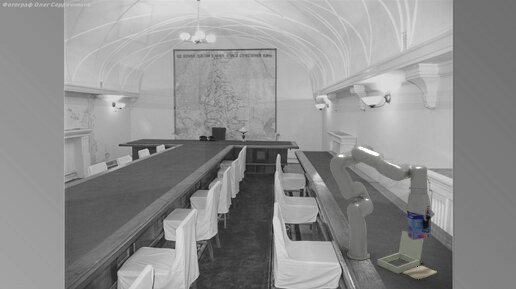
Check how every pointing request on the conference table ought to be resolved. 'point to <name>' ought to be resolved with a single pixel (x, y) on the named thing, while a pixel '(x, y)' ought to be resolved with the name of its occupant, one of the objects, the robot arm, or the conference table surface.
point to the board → (419, 272)
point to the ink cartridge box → (417, 227)
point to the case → (404, 255)
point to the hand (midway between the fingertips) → (419, 225)
